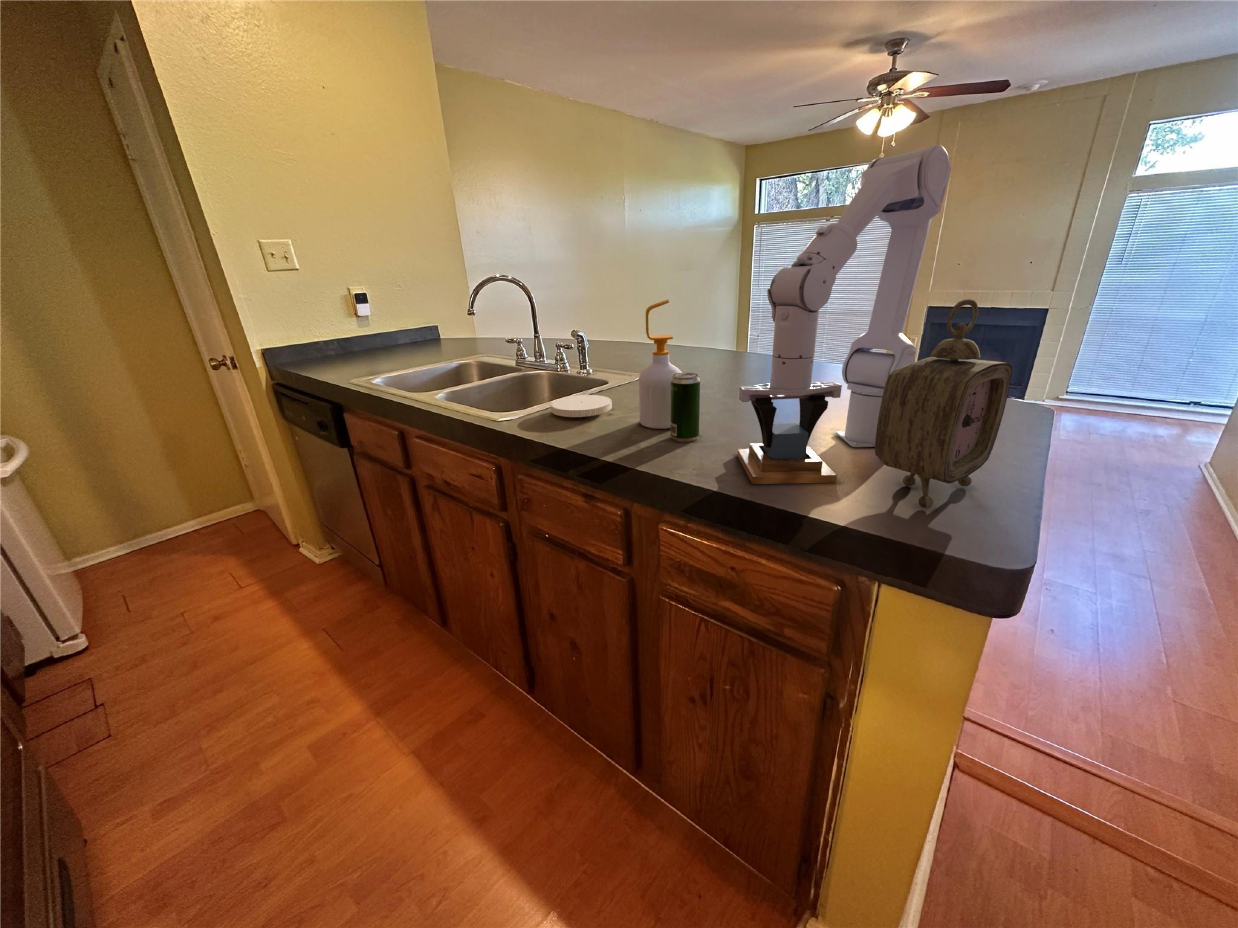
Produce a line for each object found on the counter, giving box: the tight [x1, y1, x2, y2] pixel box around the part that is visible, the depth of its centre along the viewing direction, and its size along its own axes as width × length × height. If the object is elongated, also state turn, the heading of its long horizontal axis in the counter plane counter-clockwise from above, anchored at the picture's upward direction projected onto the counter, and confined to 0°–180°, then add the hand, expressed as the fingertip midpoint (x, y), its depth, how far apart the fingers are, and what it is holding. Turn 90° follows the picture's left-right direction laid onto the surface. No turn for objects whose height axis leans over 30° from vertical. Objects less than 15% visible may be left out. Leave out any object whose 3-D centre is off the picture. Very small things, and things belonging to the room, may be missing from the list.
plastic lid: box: [550, 394, 613, 418], centre depth 110 cm, size 14×14×2 cm
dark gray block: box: [763, 422, 809, 459], centre depth 74 cm, size 5×5×4 cm
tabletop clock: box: [874, 298, 1013, 509], centre depth 61 cm, size 14×9×25 cm, turn 124°
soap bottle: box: [638, 298, 683, 430], centre depth 96 cm, size 9×9×25 cm
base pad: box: [736, 442, 838, 485], centre depth 75 cm, size 12×12×3 cm
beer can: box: [670, 372, 701, 443], centre depth 89 cm, size 5×5×12 cm
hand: (784, 444), depth 74 cm, fingers closed on dark gray block, 5 cm apart
